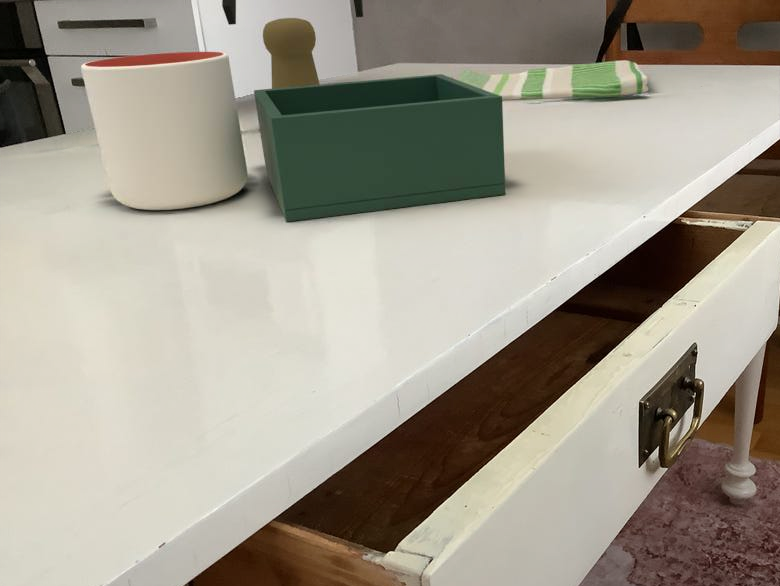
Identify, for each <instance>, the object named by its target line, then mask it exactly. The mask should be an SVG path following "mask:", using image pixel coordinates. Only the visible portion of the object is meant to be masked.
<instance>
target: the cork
mask: <svg viewBox="0 0 780 586" xmlns="http://www.w3.org/2000/svg"><path fill="white" fill-rule="evenodd" d="M262 40H263V44H264V47H265V49H266V50H267V52H268V53H269V54H270V59H271V61H270V63H271V64H270V65H271V89H274V88H286V87H297V86H309V85H321V84H320V79H319V76H318V72H317V69H316V63H315V60H314V57H313V50H314V49H315V46H316V41H317V37H316V32H315V28H314V26H313V25H312V24H311V22H310V21H309V20H306V19H302V18H299V17H284V18H278V19H274V20H271V21H268V22H267V23H266V24H264V27H263V29H262Z"/></svg>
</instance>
